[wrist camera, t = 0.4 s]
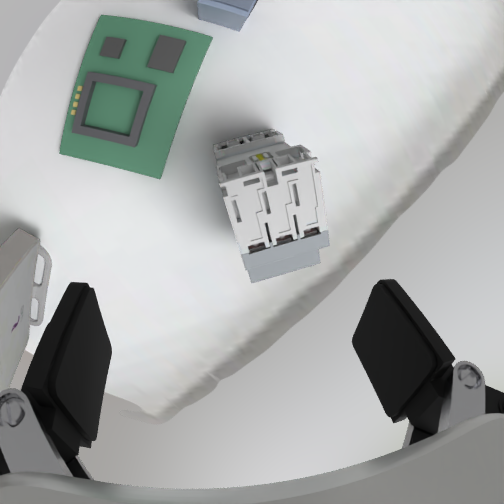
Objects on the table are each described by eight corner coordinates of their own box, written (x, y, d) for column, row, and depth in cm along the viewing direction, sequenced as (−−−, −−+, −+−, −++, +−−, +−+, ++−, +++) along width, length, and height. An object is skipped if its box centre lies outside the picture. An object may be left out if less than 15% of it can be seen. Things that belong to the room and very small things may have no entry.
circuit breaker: (242, 244, 41) (261, 319, 28) (213, 144, 33) (218, 180, 20) (294, 229, 41) (334, 297, 28) (273, 129, 33) (317, 155, 21)
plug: (212, -8, 23) (214, -31, 17) (253, 6, 25) (266, -15, 18) (198, 19, 25) (197, 0, 18) (240, 32, 26) (250, 16, 20)
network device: (41, 337, 45) (11, 421, 28) (6, 319, 41) (-30, 397, 24) (58, 235, 35) (-8, 333, 18) (14, 211, 32) (-64, 294, 15)
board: (104, 16, 22) (97, 12, 20) (212, 38, 26) (213, 34, 24) (63, 151, 30) (54, 156, 28) (161, 176, 34) (158, 182, 32)
